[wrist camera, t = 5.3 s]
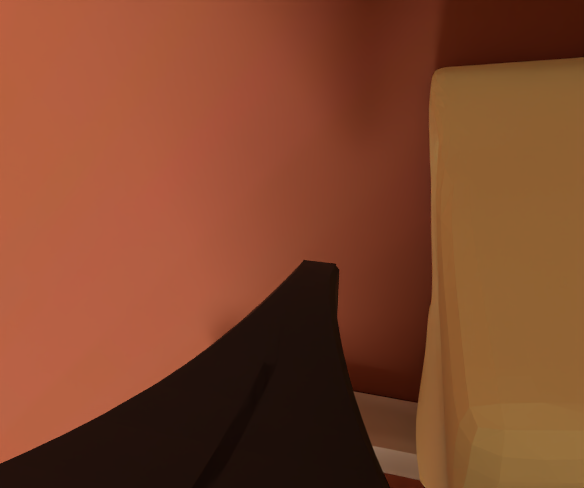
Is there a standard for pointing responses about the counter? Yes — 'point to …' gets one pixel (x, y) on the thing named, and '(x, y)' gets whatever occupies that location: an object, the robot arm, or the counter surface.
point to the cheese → (505, 279)
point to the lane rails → (391, 432)
